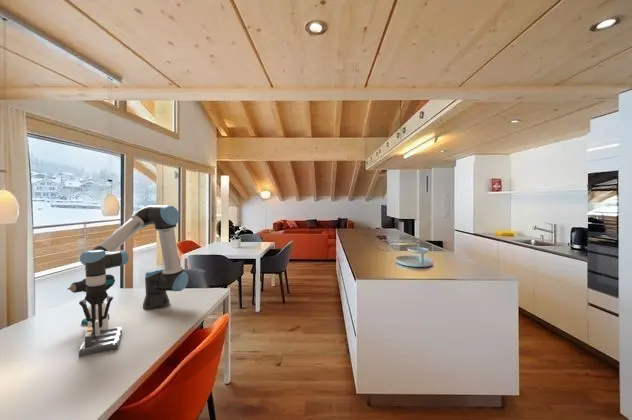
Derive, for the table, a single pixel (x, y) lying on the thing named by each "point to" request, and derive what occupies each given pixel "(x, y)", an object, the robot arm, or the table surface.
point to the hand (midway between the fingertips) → (97, 334)
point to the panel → (103, 342)
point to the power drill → (82, 285)
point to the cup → (104, 321)
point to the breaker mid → (91, 331)
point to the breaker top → (88, 339)
